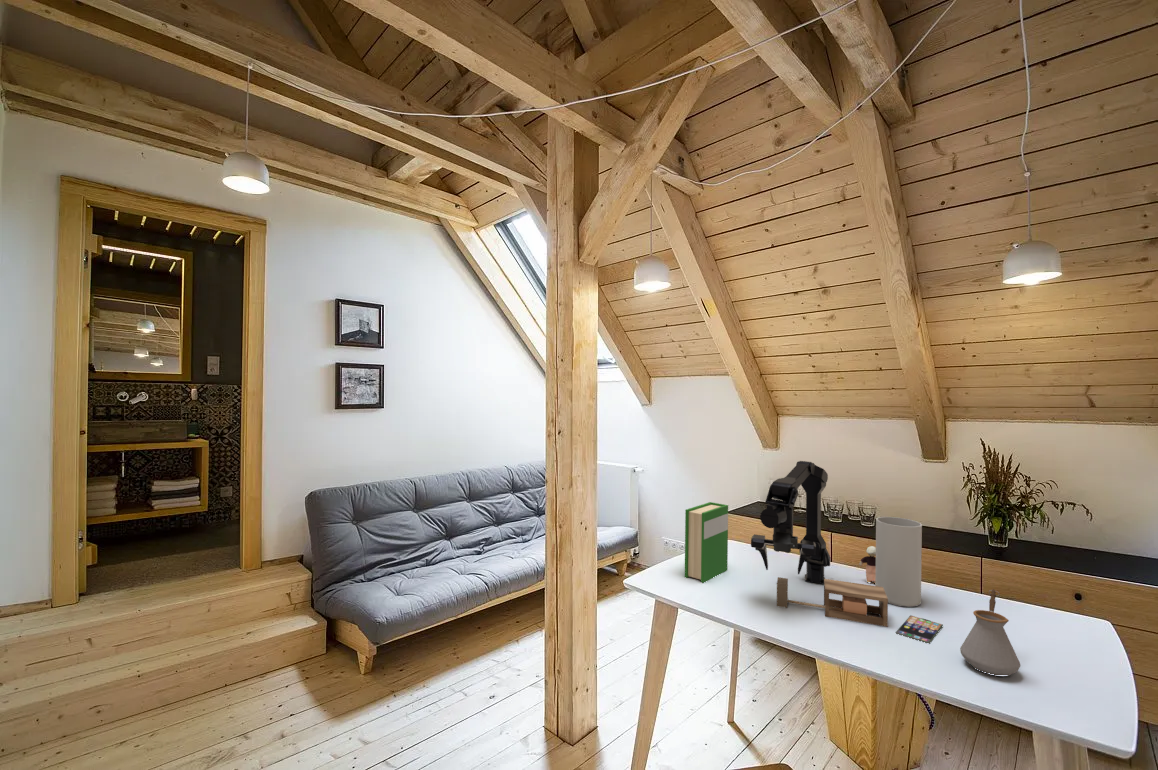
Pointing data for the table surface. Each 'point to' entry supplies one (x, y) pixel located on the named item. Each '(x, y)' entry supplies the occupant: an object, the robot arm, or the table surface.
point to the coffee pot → (990, 643)
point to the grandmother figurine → (870, 564)
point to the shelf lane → (858, 592)
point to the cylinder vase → (899, 560)
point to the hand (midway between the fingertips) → (782, 571)
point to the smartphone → (919, 629)
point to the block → (847, 605)
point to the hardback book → (706, 541)
